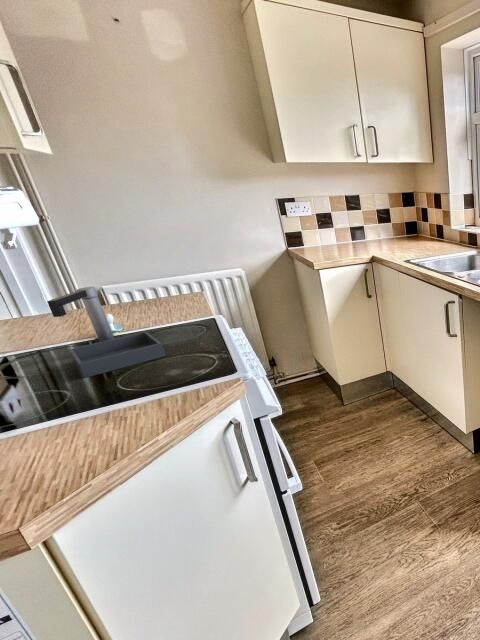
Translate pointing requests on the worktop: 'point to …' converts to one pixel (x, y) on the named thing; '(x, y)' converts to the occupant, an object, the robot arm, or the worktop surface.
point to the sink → (116, 353)
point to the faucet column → (98, 319)
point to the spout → (70, 300)
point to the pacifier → (113, 325)
